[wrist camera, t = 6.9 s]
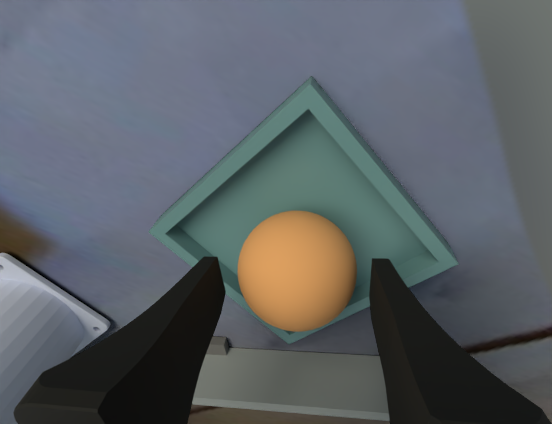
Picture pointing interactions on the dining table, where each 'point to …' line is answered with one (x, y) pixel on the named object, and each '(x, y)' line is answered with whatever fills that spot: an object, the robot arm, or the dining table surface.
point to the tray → (305, 200)
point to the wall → (292, 382)
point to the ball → (297, 271)
